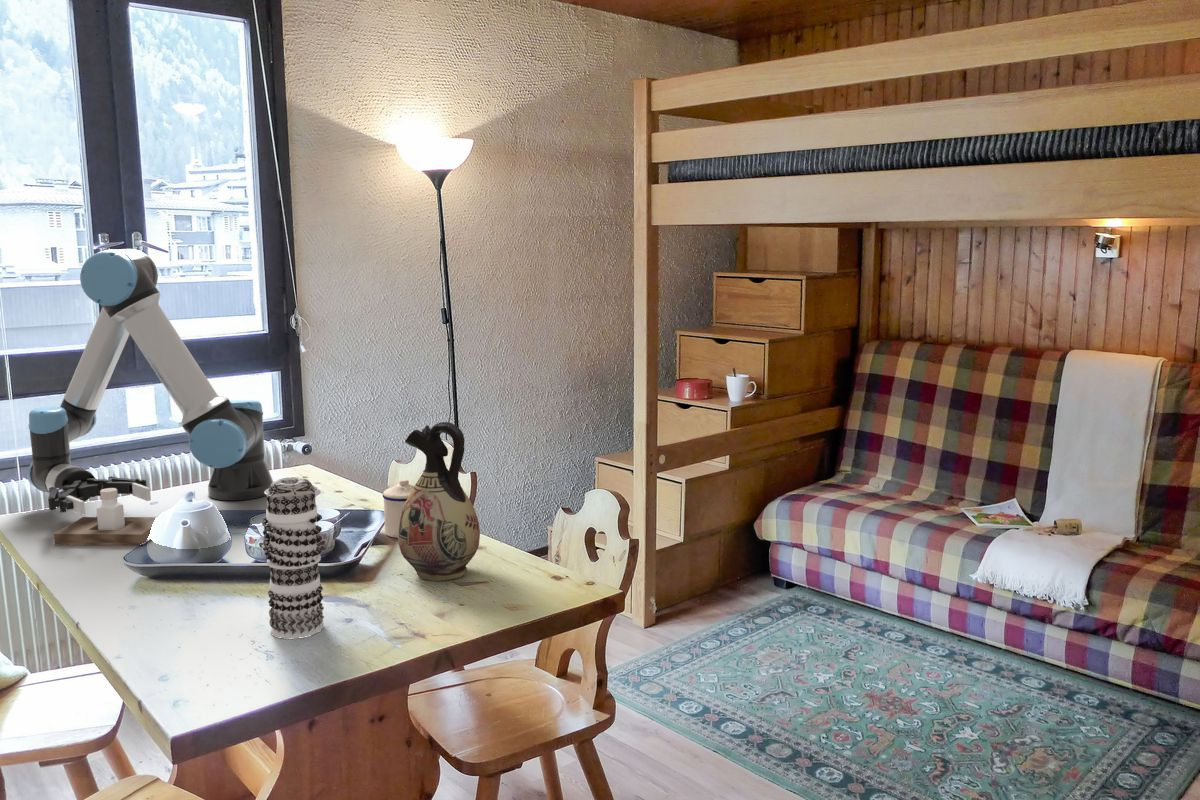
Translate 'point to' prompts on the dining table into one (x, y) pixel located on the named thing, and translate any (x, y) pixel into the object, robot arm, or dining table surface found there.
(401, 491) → the teacup with lid
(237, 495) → the robot arm
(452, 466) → the ceramic jug
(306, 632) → the decorative candle
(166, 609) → the dining table surface
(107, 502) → the salt shaker
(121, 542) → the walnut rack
